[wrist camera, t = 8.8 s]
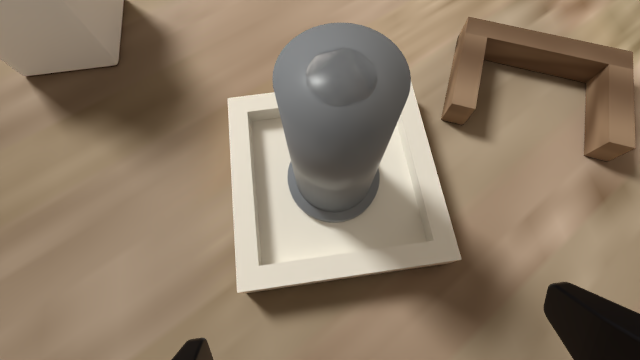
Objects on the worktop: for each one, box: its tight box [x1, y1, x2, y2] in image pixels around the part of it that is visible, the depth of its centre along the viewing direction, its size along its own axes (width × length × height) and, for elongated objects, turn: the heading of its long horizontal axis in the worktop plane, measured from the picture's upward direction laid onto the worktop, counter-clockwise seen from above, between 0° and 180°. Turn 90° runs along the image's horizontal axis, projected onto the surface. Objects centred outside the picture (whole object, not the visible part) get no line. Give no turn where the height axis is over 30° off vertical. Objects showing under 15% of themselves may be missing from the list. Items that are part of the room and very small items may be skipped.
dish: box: [228, 83, 462, 293], centre depth 20 cm, size 12×12×2 cm
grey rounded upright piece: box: [273, 23, 411, 223], centre depth 16 cm, size 6×6×10 cm
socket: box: [441, 17, 635, 161], centre depth 22 cm, size 8×11×2 cm
